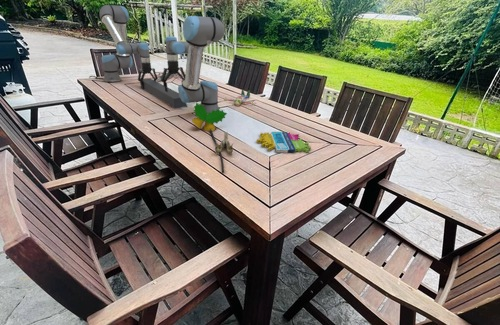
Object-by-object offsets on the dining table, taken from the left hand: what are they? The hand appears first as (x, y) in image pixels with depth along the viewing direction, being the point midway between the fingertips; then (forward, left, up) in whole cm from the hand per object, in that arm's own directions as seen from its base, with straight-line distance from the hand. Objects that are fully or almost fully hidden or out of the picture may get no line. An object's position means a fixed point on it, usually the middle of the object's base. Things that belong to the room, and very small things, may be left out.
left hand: (149, 88), depth 238 cm
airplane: (-18, +45, -1) cm, 49 cm away
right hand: (+50, -22, +11) cm, 56 cm away
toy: (+87, +17, -1) cm, 88 cm away
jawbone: (+123, -70, -1) cm, 141 cm away
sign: (+145, -42, -1) cm, 151 cm away
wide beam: (+25, -11, -1) cm, 28 cm away
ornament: (+98, -48, -1) cm, 110 cm away
